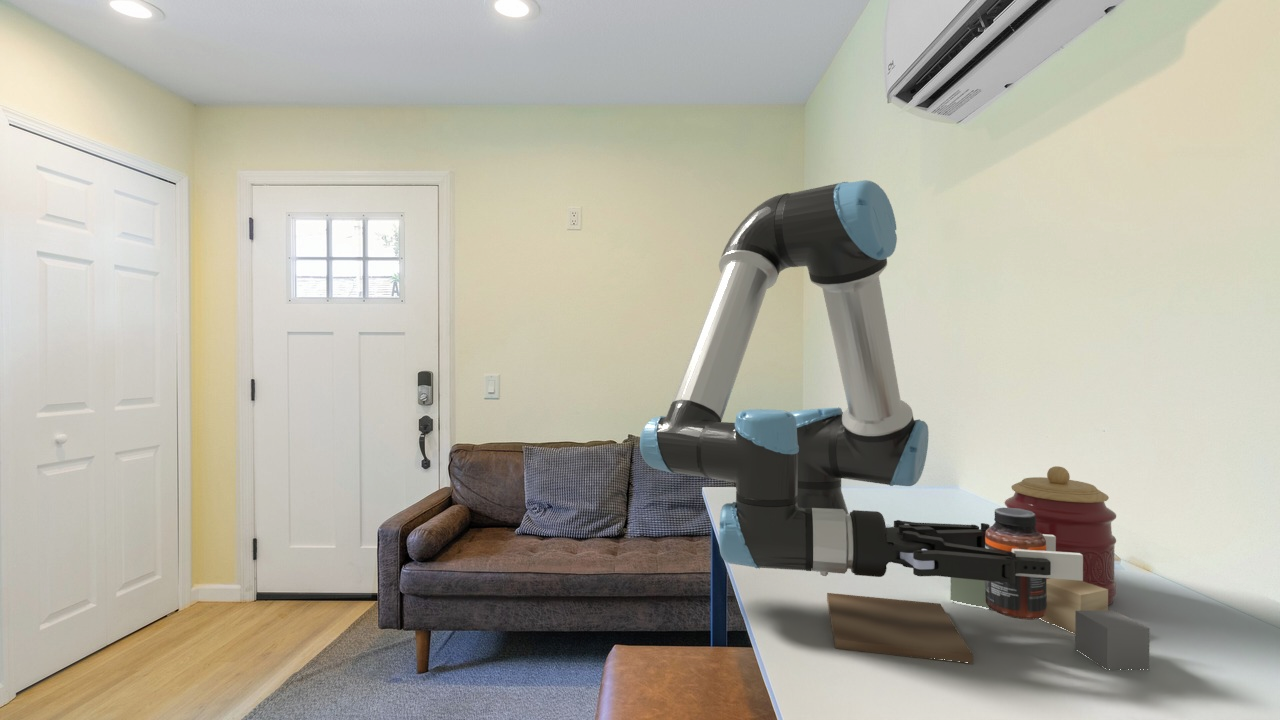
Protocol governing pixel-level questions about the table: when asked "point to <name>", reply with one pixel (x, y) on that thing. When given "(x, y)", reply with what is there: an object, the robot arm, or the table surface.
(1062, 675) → the table surface
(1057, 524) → the canister
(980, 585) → the sage block
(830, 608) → the plate
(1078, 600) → the beech block
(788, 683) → the table surface
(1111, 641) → the grey block
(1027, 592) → the supplement bottle
